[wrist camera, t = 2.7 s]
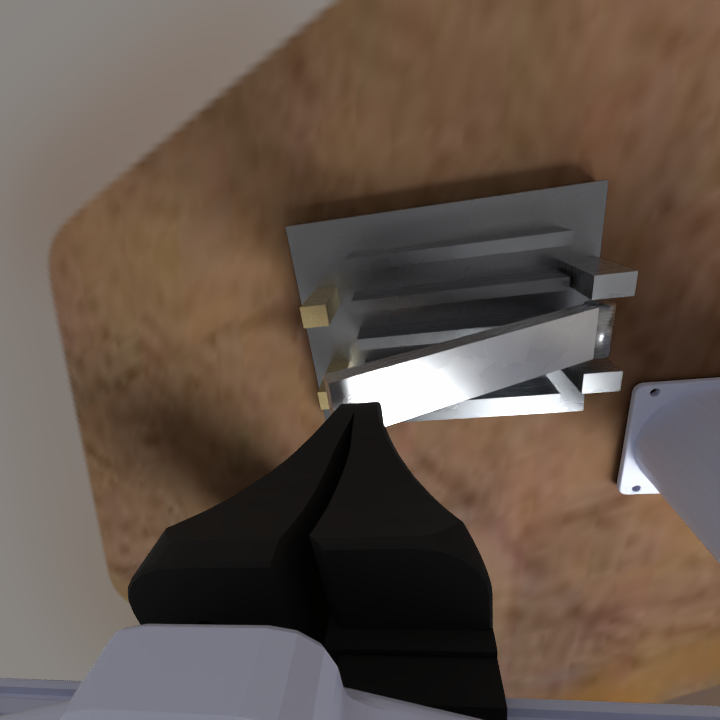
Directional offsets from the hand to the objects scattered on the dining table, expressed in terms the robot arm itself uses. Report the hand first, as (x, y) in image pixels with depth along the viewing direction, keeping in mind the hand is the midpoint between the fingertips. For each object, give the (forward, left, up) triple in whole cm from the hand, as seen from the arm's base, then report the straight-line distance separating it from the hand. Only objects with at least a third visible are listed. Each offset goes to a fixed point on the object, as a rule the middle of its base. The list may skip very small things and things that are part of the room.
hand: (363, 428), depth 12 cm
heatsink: (-4, 0, -10) cm, 11 cm away
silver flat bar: (-4, 0, -5) cm, 6 cm away
